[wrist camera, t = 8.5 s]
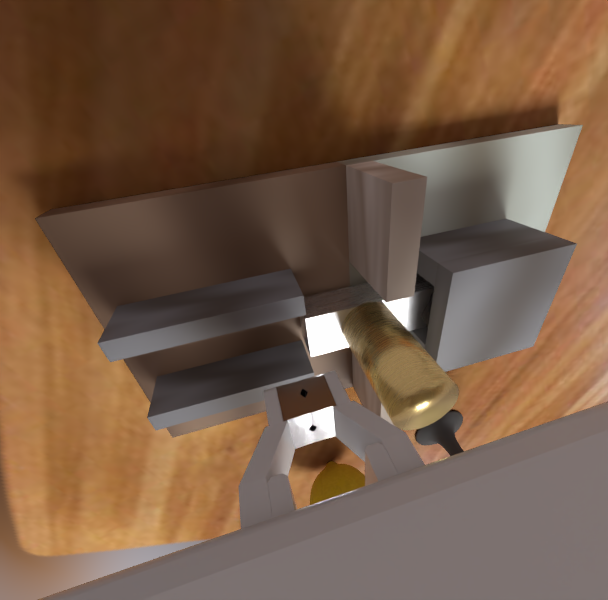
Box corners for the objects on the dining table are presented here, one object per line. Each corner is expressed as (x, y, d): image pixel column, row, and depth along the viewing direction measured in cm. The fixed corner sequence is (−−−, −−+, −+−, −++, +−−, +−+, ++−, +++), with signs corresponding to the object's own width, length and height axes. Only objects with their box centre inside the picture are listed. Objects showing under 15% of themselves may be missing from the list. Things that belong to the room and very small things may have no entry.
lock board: (174, 421, 19) (162, 507, 15) (50, 209, 12) (-47, 263, 7) (493, 333, 23) (556, 383, 19) (558, 124, 15) (693, 127, 11)
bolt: (302, 336, 16) (346, 451, 11) (296, 297, 15) (343, 406, 9) (491, 288, 18) (615, 366, 12) (502, 249, 17) (648, 317, 11)
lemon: (293, 459, 25) (319, 580, 19) (353, 435, 26) (400, 546, 19) (309, 486, 28) (336, 599, 22) (362, 464, 29) (405, 569, 22)
